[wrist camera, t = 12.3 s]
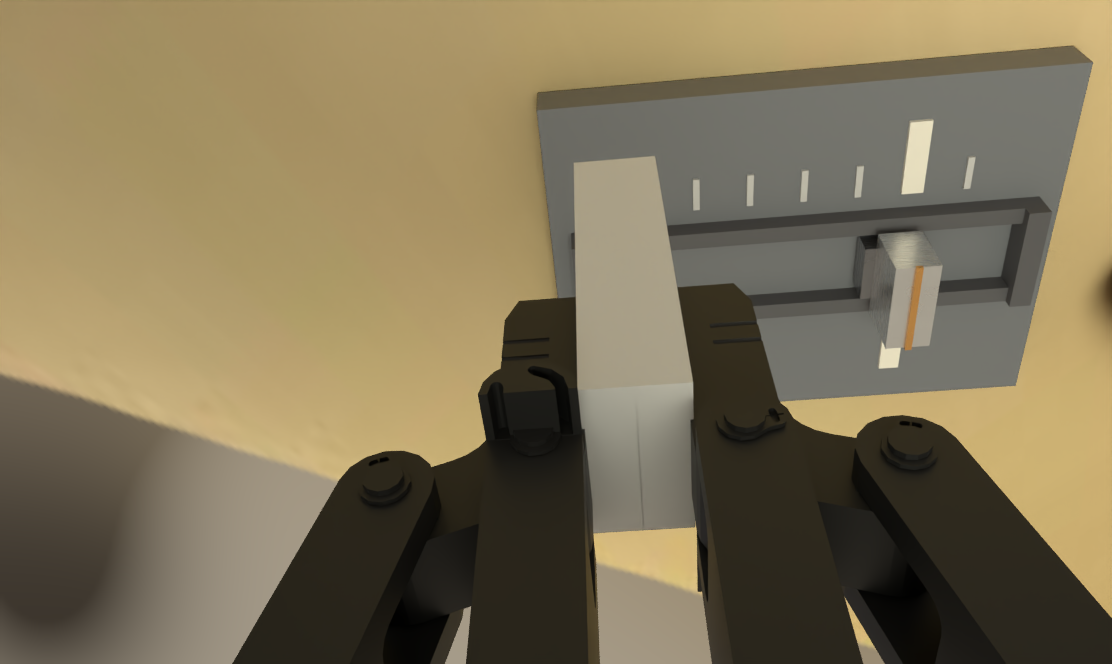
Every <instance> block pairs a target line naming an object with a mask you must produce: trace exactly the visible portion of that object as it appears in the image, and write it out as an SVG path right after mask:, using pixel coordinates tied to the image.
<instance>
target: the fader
mask: <svg viewBox="0 0 1112 664" xmlns="http://www.w3.org/2000/svg"><path fill="white" fill-rule="evenodd" d="M942 267H943V265H942V264H941V262H940V260H939V258H938V257H937V255H936V253H935V252H934V250H933V248H932V247H931V244H930V242H929V241H928V239H927V237H926V235H925V234H924V232H923V231H912V232H899V233H886V234H878V235H867V236H857V245H856V255H855V265H854V275H853V284H854V286H855V288H856V291H857V293H858V295H859V297H860V299H867V298H871V299H870V308H869V313H870V315H871V317H872V320H873V322H874V324H875V326H876V329H877V331H878V333H879V335H880V338H881V340H882V342H883V344H884V347H885V349H890V348H904V350H912V347H919V346H929V345H930V339H931V333H932V327H933V321H934V315H935V309H936V303H937V297H938V291H939V285H940V279H941V273H942Z"/></svg>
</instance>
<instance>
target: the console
mask: <svg viewBox="0 0 1112 664" xmlns="http://www.w3.org/2000/svg"><path fill="white" fill-rule="evenodd" d="M1092 65H1093V62H1092V61H1091V60H1090V59H1089V58H1087V57H1086V56H1085V55H1084V54H1083V53H1081V52H1080V51H1079V50H1078V49H1077V48H1075V47H1074V46H1066V47H1054V48H1043V49H1031V50H1020V51H1009V52H997V53H986V54H974V55H963V56H952V57H940V58H929V59H917V60H906V61H895V62H883V63H872V64H860V65H849V66H838V67H826V68H815V69H803V70H792V71H781V72H769V73H758V74H746V75H735V76H724V77H712V78H701V79H689V80H678V81H667V82H655V83H644V84H632V85H621V86H610V87H598V88H587V89H575V90H564V91H553V92H541V93H538V97H537V117H538V126H539V135H540V144H541V153H542V162H543V170H544V179H545V188H546V197H547V206H548V214H549V223H550V232H551V241H552V250H553V259H554V267H555V276H556V285H557V294H558V298H568V297H576V272H575V210H574V163H577V162H589V161H601V160H613V159H625V158H637V157H649V156H655V159H656V165H657V171H658V177H659V183H660V189H661V195H662V201H663V207H664V212H665V218H666V224H667V230H668V236H669V242H670V248H671V254H672V260H673V266H674V272H675V278H676V284H677V287H688V286H701V285H714V284H728V283H734V284H735V285H736V286H737V287H738V288H739V289H740V290H741V291H742V292H743V293H744V294H745V295H747V296H748V297H749V298H750V299H751V301H752V304H753V308H754V312H755V315H756V319H757V324H758V326H759V330H760V333H761V339H762V341H763V344H764V348H765V352H766V355H767V359H768V362H769V366H770V370H771V373H772V377H773V381H774V384H775V388H776V392H777V395H778V399H779V401H794V400H809V399H824V398H839V397H854V396H869V395H883V394H898V393H913V392H928V391H943V390H958V389H973V388H988V387H1003V386H1016V382H1017V378H1018V373H1019V369H1020V365H1021V361H1022V357H1023V353H1024V348H1025V344H1026V340H1027V336H1028V332H1029V328H1030V323H1031V319H1032V315H1033V311H1034V307H1035V302H1036V298H1037V294H1038V290H1039V286H1040V282H1041V277H1042V273H1043V269H1044V265H1045V261H1046V257H1047V252H1048V248H1049V244H1050V240H1051V236H1052V232H1053V227H1054V223H1055V219H1056V215H1057V211H1058V207H1059V202H1060V198H1061V194H1062V190H1063V186H1064V181H1065V177H1066V173H1067V169H1068V165H1069V161H1070V156H1071V152H1072V148H1073V144H1074V140H1075V136H1076V131H1077V127H1078V123H1079V119H1080V115H1081V111H1082V106H1083V102H1084V98H1085V94H1086V90H1087V86H1088V81H1089V77H1090V73H1091V69H1092ZM912 231H923V232H924V234H925V235H926V237H927V239H928V241H929V242H930V244H931V247H932V248H933V250H934V252H935V253H936V255H937V257H938V258H939V260H940V262H941V264H942V265H943V267H942V273H941V279H940V285H939V291H938V297H937V303H936V309H935V315H934V321H933V327H932V333H931V339H930V345H929V346H919V347H912V350H904V348H890V349H885V347H884V344H883V342H882V340H881V338H880V335H879V333H878V331H877V329H876V326H875V324H874V322H873V320H872V317H871V315H870V313H869V308H870V299H871V298H867V299H860V297H859V295H858V293H857V291H856V288H855V286H854V284H853V275H854V265H855V255H856V245H857V236H867V235H878V234H886V233H899V232H912Z"/></svg>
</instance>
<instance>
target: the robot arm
mask: <svg viewBox="0 0 1112 664" xmlns="http://www.w3.org/2000/svg"><path fill="white" fill-rule="evenodd" d="M574 210H575V272H576V297H568V298H555V299H541V300H528V301H519V302H518V303H517V305H516V306H515V307H514V309H513V310H512V311H511V313H510V314H509V315H508V317H507V318H506V320H505V325H504V337H503V349H502V361H501V369H499V370H497V371H495V372H494V373H493V374H492V375H490V376H489V377H488V378H487V379H486V380H485V381H484V382H483V384H482V386H481V389H480V391H479V393H478V398H479V403H480V409H481V414H482V419H483V425H484V430H485V435H486V441H485V442H484V443H483V444H482V445H481V446H480V447H479V448H477V449H476V450H474V451H472V452H471V453H469V454H468V455H466V456H463V457H461V458H458V459H456V460H453V461H450V462H447V463H444V464H440V465H437V466H434V467H431V466H430V464H429V463H428V462H427V461H425V460H424V459H423V458H422V457H420V456H419V455H416V454H413V453H409V452H405V451H385V452H382V453H378V454H375V455H372V456H368V457H366V458H364V459H363V460H361V461H359V462H358V463H356V464H355V465H353V466H351V467H350V468H349V469H348V470H347V472H346V473H345V474H344V475H343V476H342V477H341V479H340V480H339V481H338V483H337V485H336V487H335V488H334V490H333V492H332V493H331V495H330V497H329V499H328V500H327V502H326V504H325V506H324V507H323V509H322V511H321V512H320V514H319V516H318V518H317V519H316V521H315V523H314V524H313V526H312V528H311V530H310V531H309V533H308V535H307V537H306V538H305V540H304V542H303V543H302V545H301V547H300V549H299V550H298V552H297V554H296V555H295V557H294V559H293V560H292V562H291V564H290V566H289V567H288V569H287V571H286V572H285V574H284V576H283V578H282V580H281V581H280V583H279V584H278V586H277V588H276V590H275V591H274V593H273V595H272V597H271V598H270V600H269V602H268V603H267V605H266V607H265V608H264V610H263V612H262V614H261V615H260V617H259V619H258V620H257V622H256V624H255V626H254V627H253V629H252V631H251V632H250V634H249V636H248V638H247V640H246V641H245V643H244V644H243V646H242V648H241V650H240V652H239V653H238V655H237V657H236V658H235V660H234V662H233V663H232V664H445V661H446V659H447V656H448V654H449V651H450V649H451V646H452V643H453V641H454V638H455V636H456V633H457V630H458V628H459V625H460V623H461V620H462V616H463V610H464V608H467V607H470V606H471V615H470V626H469V638H468V648H467V659H466V664H600V659H599V658H600V656H599V629H598V602H597V574H596V557H595V548H594V537H593V533H605V532H622V531H639V530H656V529H672V528H689V527H695V521H696V528H697V571H698V592H701V591H702V594H703V601H704V608H705V616H706V623H707V630H708V638H709V645H710V652H711V659H712V664H863V662H862V658H861V654H860V651H859V647H858V643H857V640H856V636H855V633H854V629H853V626H852V622H851V619H850V615H849V612H848V608H847V605H846V601H845V598H846V600H847V601H848V603H849V605H850V606H851V608H852V610H853V611H854V613H855V615H856V616H857V618H858V620H859V621H860V623H861V625H862V626H863V628H864V630H865V631H866V633H867V635H868V636H869V638H870V640H871V641H872V643H873V645H874V646H875V648H876V650H877V651H878V653H879V655H880V656H881V658H882V659H883V661H884V663H885V664H1112V618H1111V617H1110V616H1109V615H1108V613H1107V612H1106V611H1105V610H1104V609H1103V608H1102V606H1101V605H1100V604H1099V603H1098V602H1097V601H1096V599H1095V598H1094V597H1093V596H1092V595H1091V594H1090V593H1089V591H1088V590H1087V589H1086V588H1085V587H1084V586H1083V584H1082V583H1081V582H1080V581H1079V580H1078V579H1077V577H1076V576H1075V575H1074V574H1073V573H1072V572H1071V571H1070V569H1069V568H1068V567H1067V566H1066V565H1065V564H1064V562H1063V561H1062V560H1061V559H1060V558H1059V557H1058V555H1057V554H1056V553H1055V552H1054V551H1053V550H1052V548H1051V547H1050V546H1049V545H1048V544H1047V543H1046V542H1045V540H1044V539H1043V538H1042V537H1041V536H1040V535H1039V533H1038V532H1037V531H1036V530H1035V529H1034V528H1033V526H1032V525H1031V524H1030V523H1029V522H1028V521H1027V520H1026V518H1025V517H1024V516H1023V515H1022V514H1021V513H1020V511H1019V510H1018V509H1017V508H1016V507H1015V506H1014V504H1013V503H1012V502H1011V501H1010V500H1009V499H1008V497H1007V496H1006V495H1005V494H1004V493H1003V492H1002V491H1001V489H1000V488H999V487H998V486H997V485H996V484H995V482H994V481H993V480H992V479H991V478H990V477H989V475H988V474H987V473H986V472H985V471H984V470H983V469H982V467H981V466H980V465H979V464H978V463H977V462H976V460H975V459H974V458H973V457H972V456H971V455H970V453H969V452H968V451H967V450H966V449H965V448H964V446H963V445H962V444H961V443H960V442H959V441H958V440H957V438H956V437H954V436H953V435H952V434H951V433H949V432H948V431H947V430H946V429H944V428H943V427H942V426H940V425H937V424H935V423H933V422H930V421H928V420H926V419H923V418H917V417H911V416H904V415H900V416H889V417H882V418H880V419H877V420H875V421H872V422H870V423H868V424H867V425H866V426H865V427H864V428H863V429H862V430H861V431H860V432H859V433H858V434H857V438H852V437H846V436H840V435H834V434H829V433H825V432H821V431H817V430H814V429H812V428H809V427H807V426H805V425H803V424H801V423H799V422H798V421H796V420H795V419H794V418H793V417H792V415H791V414H790V412H789V410H788V409H787V408H786V407H785V406H784V405H782V404H781V403H780V401H779V399H778V395H777V392H776V388H775V384H774V381H773V377H772V373H771V370H770V366H769V362H768V359H767V355H766V352H765V348H764V344H763V341H762V339H761V333H760V330H759V326H758V324H757V319H756V315H755V312H754V308H753V304H752V301H751V299H750V298H749V297H748V296H747V295H745V294H744V293H743V292H742V291H741V290H740V289H739V288H738V287H737V286H736V285H735V284H734V283H728V284H714V285H701V286H688V287H677V284H676V278H675V272H674V266H673V260H672V254H671V248H670V242H669V236H668V230H667V224H666V218H665V212H664V207H663V201H662V195H661V189H660V183H659V177H658V171H657V165H656V159H655V156H649V157H637V158H625V159H613V160H601V161H589V162H577V163H574ZM844 596H845V598H844Z"/></svg>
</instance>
